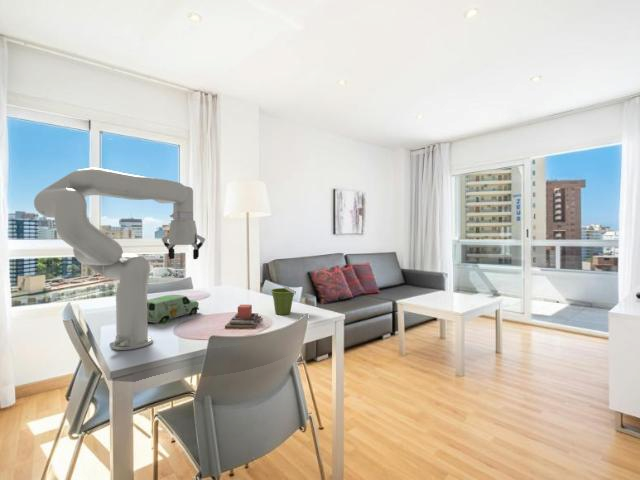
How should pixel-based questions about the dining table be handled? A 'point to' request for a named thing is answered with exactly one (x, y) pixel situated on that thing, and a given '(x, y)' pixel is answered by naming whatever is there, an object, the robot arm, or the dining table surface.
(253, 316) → the board
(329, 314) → the dining table surface
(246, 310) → the red block
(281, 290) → the plant pot
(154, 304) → the toy car
